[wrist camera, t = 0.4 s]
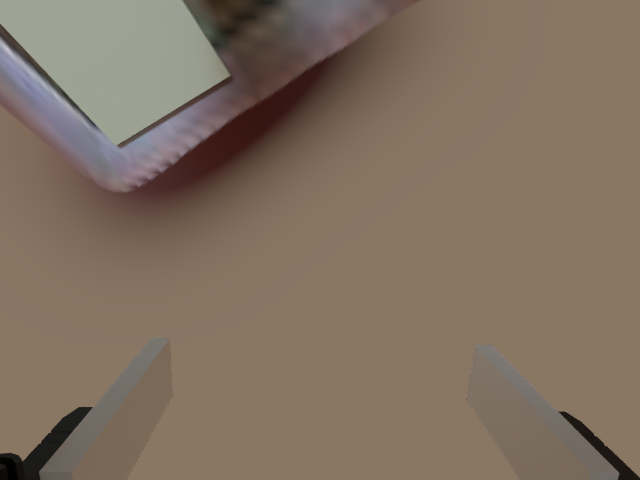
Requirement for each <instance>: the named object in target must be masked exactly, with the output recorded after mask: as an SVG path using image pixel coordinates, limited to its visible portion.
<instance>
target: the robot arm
mask: <svg viewBox="0 0 640 480" xmlns="http://www.w3.org/2000/svg"><path fill="white" fill-rule="evenodd" d="M172 395H173V393H172V372H171V352H170V338H151V339H150V340H149V341H148V342H147V343H146V345H145V346H144V347H143V348H142V349H141V351H140V352H139V353H138V354H137V356H136V357H135V358H134V359H133V360H132V361H131V363H130V364H129V365H128V366H127V367H126V368H125V370H124V371H123V372H122V373H121V375H120V376H119V377H118V378H117V379H116V380H115V382H114V383H113V384H112V385H111V386H110V388H109V389H108V390H107V391H106V392H105V394H104V395H103V396H102V397H101V399H100V400H99V401H98V402H97V403H96V404H95V406H94V407H79V408H77V409H76V410H74V411H73V412H71V413H70V414H68V415H67V416H65V417H64V418H62V419H61V421H60V422H59V423H58V424H57V425H56V426H55V427H54V428H53V429H52V430H51V433H49V434H48V435H47V436H46V437H45V438H44V439H43V440H42V442H41V444H38V446H37V447H36V448H35V449H34V450H33V451H32V452H31V453H30V454H29V455H28V456H27V458H26V459H25V460H24V461H23V462H22V460H21V458H20V457H19V456H18V455H15V454H12V453H5V454H0V480H127V479H128V477H129V475H130V473H131V472H132V470H133V468H134V466H135V464H136V462H137V460H138V458H139V457H140V455H141V453H142V451H143V449H144V448H145V446H146V444H147V442H148V440H149V438H150V437H151V435H152V433H153V431H154V429H155V427H156V426H157V424H158V422H159V420H160V418H161V416H162V415H163V413H164V411H165V409H166V407H167V405H168V403H169V402H170V400H171V398H172ZM466 400H467V402H468V403H469V405H470V406H471V408H472V409H473V411H474V412H475V413H476V415H477V417H478V418H479V420H480V421H481V423H482V424H483V426H484V427H485V429H486V430H487V431H488V433H489V434H490V436H491V437H492V439H493V441H494V442H495V444H496V445H497V447H498V448H499V449H500V451H501V453H502V454H503V455H504V457H505V458H506V460H507V461H508V463H509V464H510V466H511V467H512V469H513V470H514V472H515V473H516V475H517V476H518V478H519V479H520V480H640V478H639V477H638V476H637V475H636V474H635V473H634V472H633V471H632V470H631V469H630V468H629V467H628V466H627V465H626V464H625V463H624V462H623V461H622V460H621V459H619V457H618V456H616V455H615V454H614V453H613V452H612V451H611V450H610V449H609V448H608V447H607V446H604V443H603V442H602V441H601V440H600V439H599V438H598V437H596V436H594V434H593V433H592V432H591V431H590V430H589V429H588V428H587V427H586V426H585V425H584V424H583V423H582V422H581V421H579V420H577V419H576V418H574V417H573V416H571V415H570V414H568V413H566V412H558V411H557V410H556V409H555V408H554V407H553V406H552V405H551V404H550V403H549V402H548V401H547V400H546V399H545V398H544V397H543V396H542V395H541V394H540V393H539V392H538V391H537V390H536V389H535V388H534V387H533V386H532V385H531V384H530V383H529V382H528V381H527V380H526V379H525V378H524V377H523V376H522V375H521V374H520V373H519V372H518V371H517V370H516V369H515V368H514V367H513V366H512V365H511V364H510V363H509V362H508V361H507V360H506V359H505V358H504V357H503V356H502V355H501V354H500V353H499V352H498V351H497V350H496V349H495V348H494V347H493V346H492V345H475V348H474V354H473V361H472V367H471V373H470V380H469V386H468V392H467V399H466Z"/></svg>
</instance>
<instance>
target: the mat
mask: <svg viewBox="0 0 640 480" xmlns="http://www.w3.org/2000/svg"><path fill="white" fill-rule="evenodd" d="M0 24H1V25H2V26H3V27H4V28H5V29H6V30H7V31H8V32H9V33H10V34H11V35H12V36H13V37H14V38H15V40H16V41H17V42H18V43H19V44H20V45H21V46H22V47H23V48H24V49H25V50H26V51H27V52H28V53H29V54H30V55H31V56H32V58H33V59H34V60H35V61H36V62H37V63H38V64H39V65H40V66H41V67H42V68H43V69H44V70H45V71H46V72H47V73H48V74H49V76H50V77H51V78H52V79H53V80H54V81H55V82H56V83H57V84H58V85H59V86H60V87H61V88H62V89H63V90H64V91H65V93H66V94H67V95H68V96H69V97H70V98H71V99H72V100H73V101H74V102H75V103H76V104H77V105H78V106H79V107H80V108H81V109H82V111H83V112H84V113H85V114H86V115H87V116H88V117H89V118H90V119H91V120H92V121H93V122H94V123H95V124H96V125H97V126H98V128H99V129H100V130H101V131H102V132H103V133H104V134H105V135H106V136H107V137H108V138H109V139H110V140H111V141H112V142H113V143H114V144H115V146H116V145H118V144H120V143H121V142H123V141H124V140H126V139H128V138H129V137H131V136H133V135H134V134H136V133H138V132H139V131H141V130H142V129H144V128H146V127H147V126H149V125H151V124H152V123H154V122H156V121H157V120H159V119H160V118H162V117H164V116H165V115H167V114H169V113H170V112H172V111H174V110H175V109H177V108H178V107H180V106H182V105H183V104H185V103H187V102H188V101H190V100H191V99H193V98H195V97H196V96H198V95H200V94H201V93H203V92H205V91H206V90H208V89H209V88H211V87H213V86H214V85H216V84H218V83H219V82H221V81H223V80H224V79H226V78H227V77H229V76H231V73H230V72H229V70H228V69H227V67H226V66H225V64H224V62H223V61H222V59H221V58H220V56H219V55H218V53H217V52H216V50H215V48H214V47H213V45H212V44H211V42H210V41H209V39H208V37H207V36H206V34H205V33H204V31H203V30H202V28H201V26H200V25H199V23H198V22H197V20H196V19H195V17H194V16H193V14H192V12H191V11H190V9H189V8H188V6H187V5H186V3H185V1H184V0H0Z"/></svg>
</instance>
